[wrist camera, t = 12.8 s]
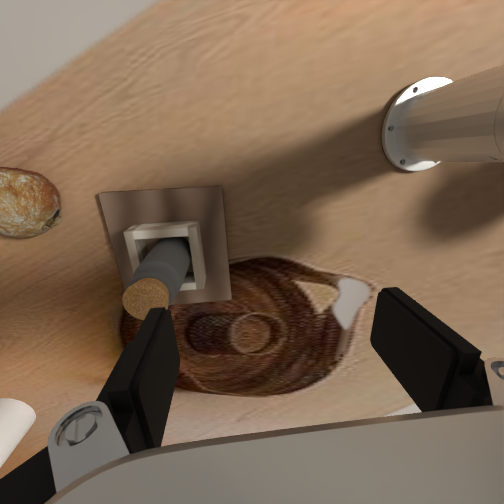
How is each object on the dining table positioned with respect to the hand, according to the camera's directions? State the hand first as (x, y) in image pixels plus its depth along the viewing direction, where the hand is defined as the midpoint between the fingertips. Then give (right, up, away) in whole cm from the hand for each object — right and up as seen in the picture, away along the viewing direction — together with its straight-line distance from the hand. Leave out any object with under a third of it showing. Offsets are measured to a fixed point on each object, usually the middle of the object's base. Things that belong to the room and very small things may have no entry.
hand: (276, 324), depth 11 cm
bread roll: (-35, +11, +25) cm, 44 cm away
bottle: (-14, +3, +29) cm, 32 cm away
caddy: (-14, +4, +30) cm, 33 cm away
